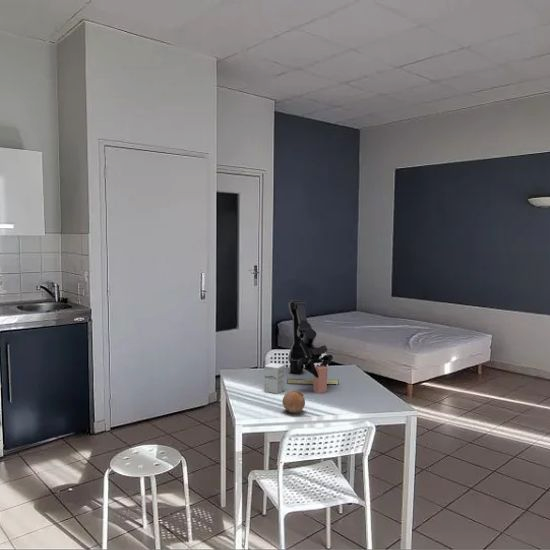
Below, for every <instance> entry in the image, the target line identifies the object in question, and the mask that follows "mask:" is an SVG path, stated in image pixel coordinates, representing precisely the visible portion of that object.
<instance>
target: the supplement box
mask: <svg viewBox="0 0 550 550" xmlns="http://www.w3.org/2000/svg"><path fill="white" fill-rule="evenodd" d="M285 367H286V366H285V364H281V363H273V362H270V363H268V364H266V365H264V380H263V383H264V384H263V392H264V391H265V392H267V393H272V394H276V395H278V394H280V393H281V392H283V391H284V390H285V389H284V386H285ZM279 392H280V393H279Z"/></svg>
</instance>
